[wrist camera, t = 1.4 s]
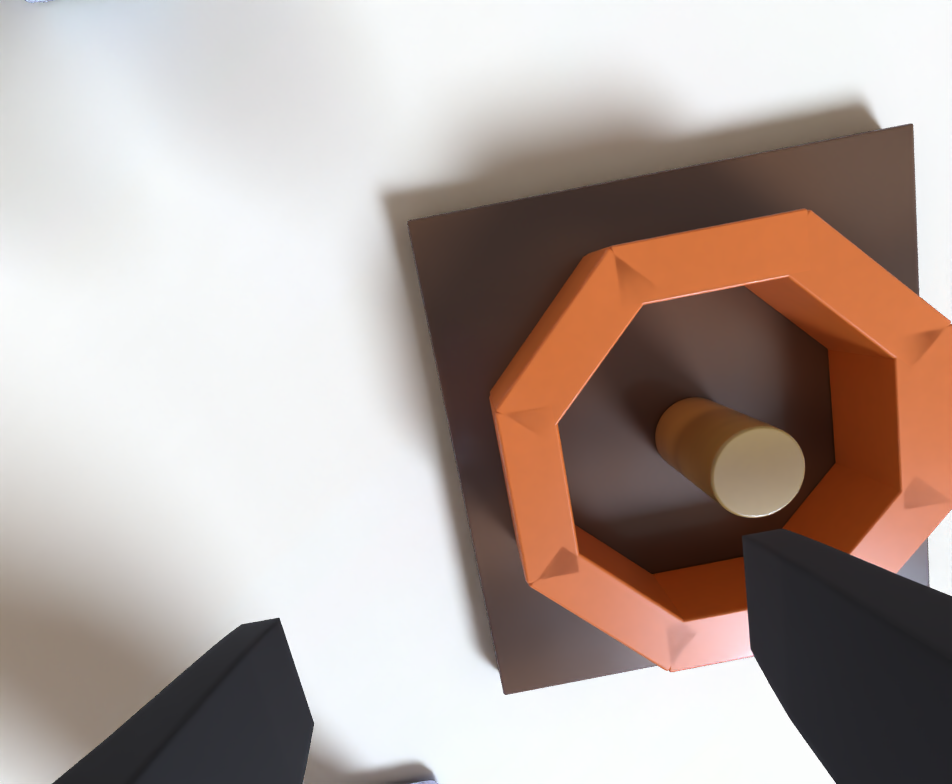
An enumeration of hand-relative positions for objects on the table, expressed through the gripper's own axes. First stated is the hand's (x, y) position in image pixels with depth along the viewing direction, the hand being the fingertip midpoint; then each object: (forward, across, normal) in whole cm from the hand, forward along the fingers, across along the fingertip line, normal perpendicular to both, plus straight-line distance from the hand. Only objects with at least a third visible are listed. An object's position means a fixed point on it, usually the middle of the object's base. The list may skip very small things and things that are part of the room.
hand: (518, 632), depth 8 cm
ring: (+9, -6, +1) cm, 11 cm away
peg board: (+10, -6, +1) cm, 12 cm away
